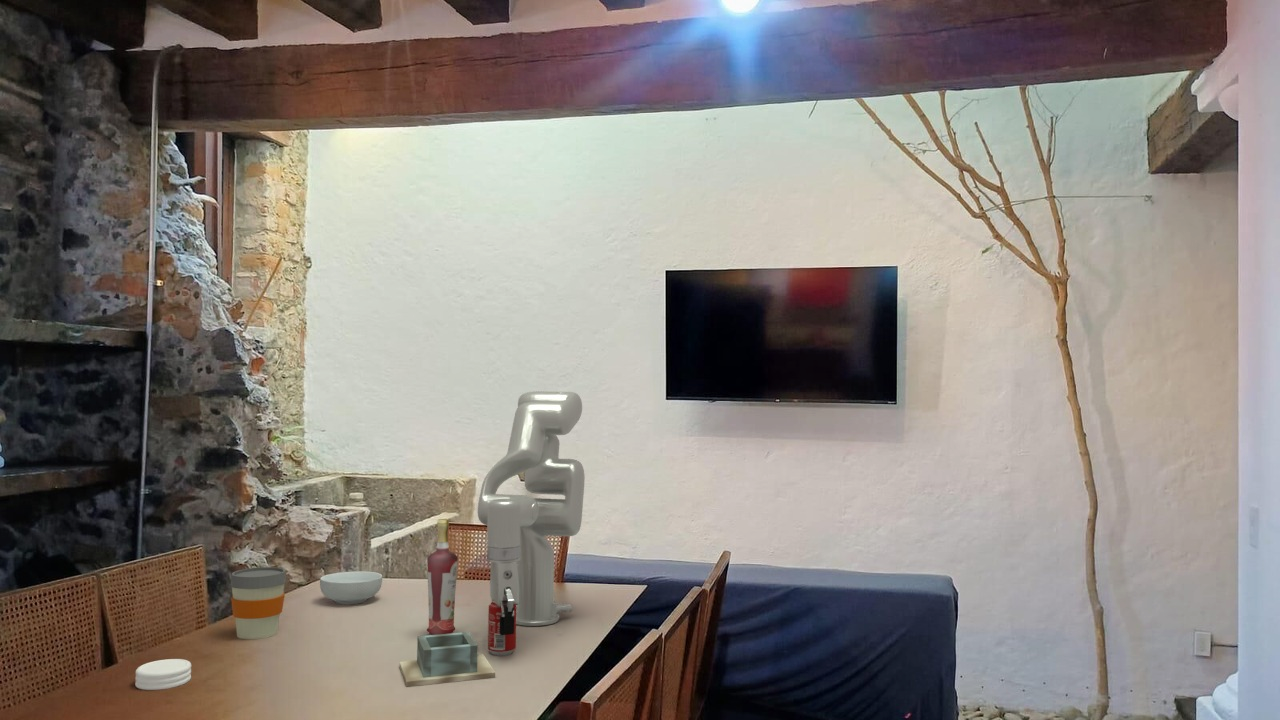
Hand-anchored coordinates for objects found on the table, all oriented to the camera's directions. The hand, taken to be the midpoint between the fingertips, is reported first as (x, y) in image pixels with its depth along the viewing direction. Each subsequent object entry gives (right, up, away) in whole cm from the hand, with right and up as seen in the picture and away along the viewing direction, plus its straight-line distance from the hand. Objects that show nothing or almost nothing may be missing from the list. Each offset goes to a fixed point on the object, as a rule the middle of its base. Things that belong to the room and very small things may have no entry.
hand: (502, 628), depth 201 cm
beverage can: (0, -6, 0) cm, 6 cm away
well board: (-10, -5, -15) cm, 18 cm away
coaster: (-65, -4, -23) cm, 69 cm away
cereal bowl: (-50, -7, +47) cm, 69 cm away
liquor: (-17, -6, +14) cm, 23 cm away
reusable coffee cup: (-62, -5, +13) cm, 63 cm away
